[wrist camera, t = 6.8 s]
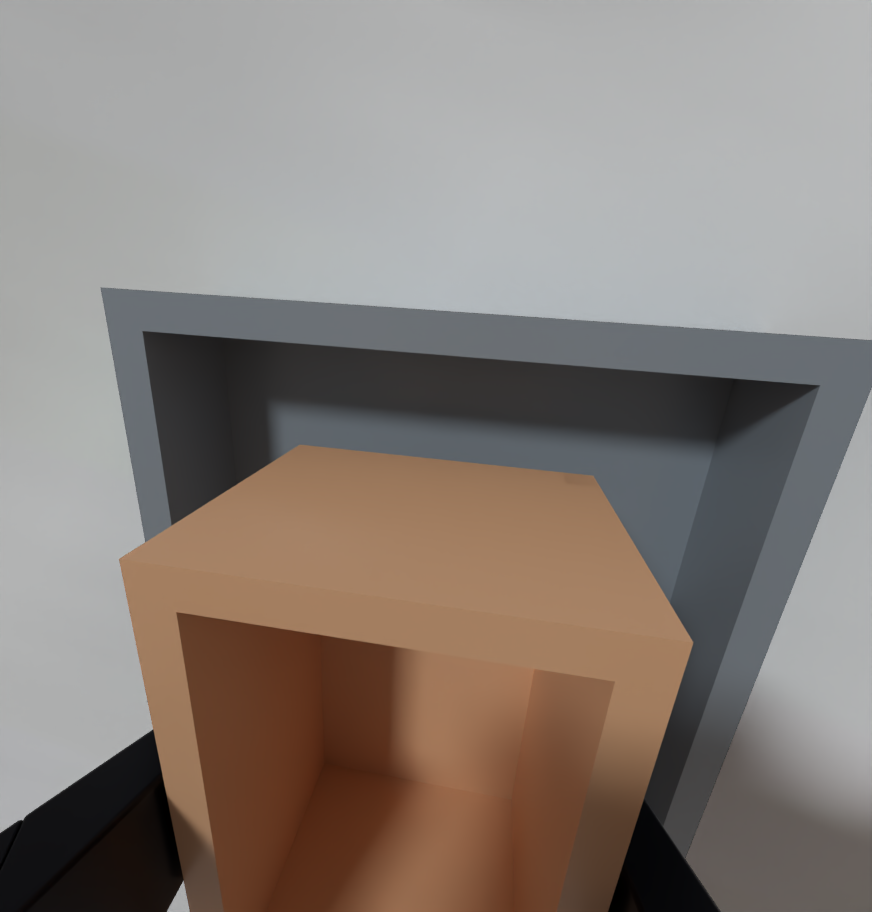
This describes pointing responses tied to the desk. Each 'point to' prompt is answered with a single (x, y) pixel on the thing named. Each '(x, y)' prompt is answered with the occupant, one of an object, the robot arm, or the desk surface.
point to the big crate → (526, 446)
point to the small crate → (403, 686)
